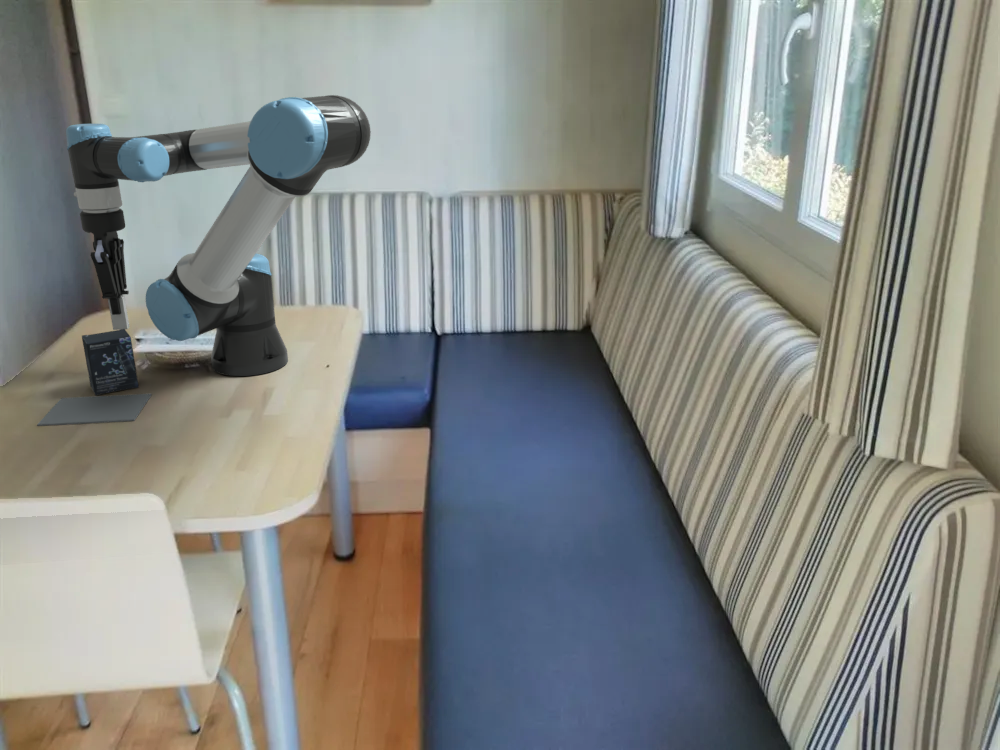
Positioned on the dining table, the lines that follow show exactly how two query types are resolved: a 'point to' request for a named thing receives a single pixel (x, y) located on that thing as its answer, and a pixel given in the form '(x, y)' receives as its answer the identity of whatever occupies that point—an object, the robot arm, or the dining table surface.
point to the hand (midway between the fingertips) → (121, 328)
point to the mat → (95, 409)
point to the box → (110, 361)
